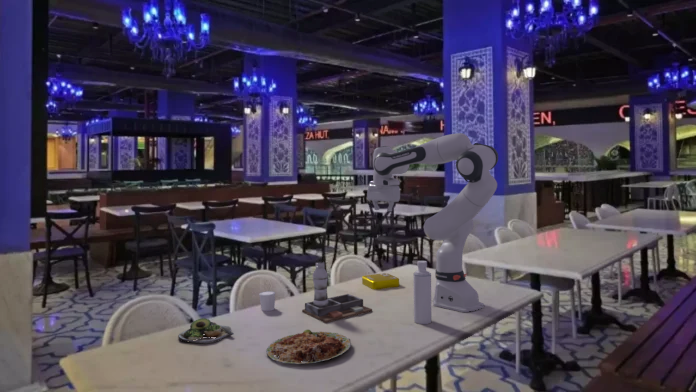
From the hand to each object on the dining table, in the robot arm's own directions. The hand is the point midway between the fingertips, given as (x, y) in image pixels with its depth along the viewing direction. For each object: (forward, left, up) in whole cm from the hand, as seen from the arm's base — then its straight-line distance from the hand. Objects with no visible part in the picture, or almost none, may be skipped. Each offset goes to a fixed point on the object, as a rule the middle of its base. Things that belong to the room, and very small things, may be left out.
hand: (383, 210), depth 223 cm
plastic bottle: (-7, +40, -38) cm, 56 cm away
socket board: (-10, +34, -39) cm, 53 cm away
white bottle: (-41, +15, -39) cm, 59 cm away
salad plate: (-2, +87, -40) cm, 96 cm away
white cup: (+12, +55, -39) cm, 69 cm away
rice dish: (-38, +64, -40) cm, 84 cm away
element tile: (+13, -8, -40) cm, 42 cm away
